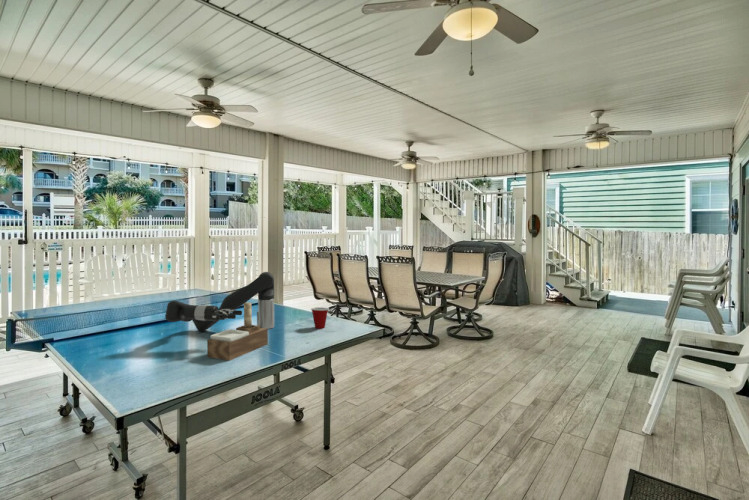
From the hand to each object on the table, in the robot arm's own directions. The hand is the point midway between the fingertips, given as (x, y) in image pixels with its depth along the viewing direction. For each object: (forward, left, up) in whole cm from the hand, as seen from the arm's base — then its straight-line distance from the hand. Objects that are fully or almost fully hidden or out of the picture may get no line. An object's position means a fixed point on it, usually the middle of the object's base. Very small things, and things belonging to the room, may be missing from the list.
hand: (238, 314), depth 193 cm
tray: (+4, -10, -8) cm, 14 cm away
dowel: (+4, +2, -8) cm, 9 cm away
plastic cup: (+18, +49, -17) cm, 55 cm away
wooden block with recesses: (+4, -4, -16) cm, 17 cm away
